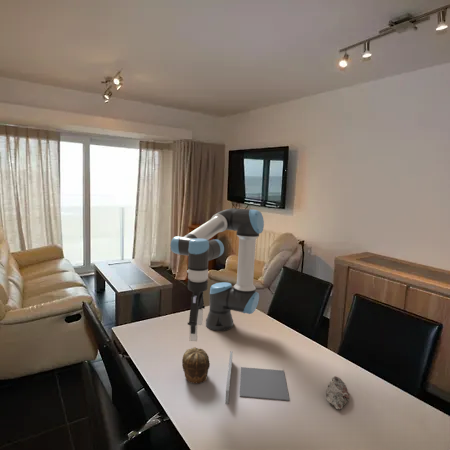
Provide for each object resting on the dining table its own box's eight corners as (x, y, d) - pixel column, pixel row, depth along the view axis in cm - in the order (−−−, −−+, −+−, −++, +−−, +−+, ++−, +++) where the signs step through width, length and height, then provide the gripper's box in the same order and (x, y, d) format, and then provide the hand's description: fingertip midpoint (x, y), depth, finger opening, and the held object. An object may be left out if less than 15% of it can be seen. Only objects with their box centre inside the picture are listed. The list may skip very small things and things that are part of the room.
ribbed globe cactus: (175, 381, 121) (176, 352, 120) (191, 367, 131) (192, 340, 129) (199, 390, 116) (200, 361, 115) (214, 375, 126) (215, 347, 124)
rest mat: (240, 367, 132) (240, 367, 132) (283, 371, 130) (283, 370, 130) (239, 396, 114) (239, 395, 114) (289, 400, 113) (289, 399, 113)
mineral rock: (343, 414, 107) (344, 403, 107) (320, 404, 112) (321, 393, 111) (353, 392, 119) (355, 381, 118) (332, 384, 124) (333, 373, 123)
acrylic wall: (229, 362, 136) (230, 351, 135) (232, 362, 136) (232, 351, 135) (225, 403, 110) (225, 390, 109) (228, 403, 110) (228, 390, 109)
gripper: (193, 270, 131) (192, 318, 134) (181, 289, 106) (179, 347, 109) (211, 271, 130) (209, 319, 133) (202, 290, 106) (200, 349, 108)
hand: (196, 332), depth 121 cm, fingers open, 13 cm apart
